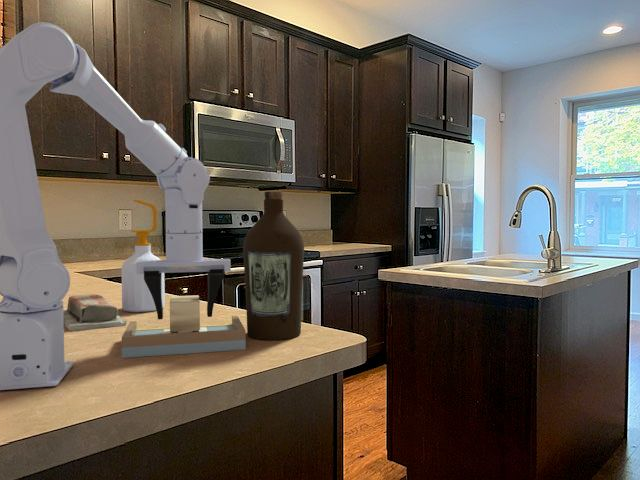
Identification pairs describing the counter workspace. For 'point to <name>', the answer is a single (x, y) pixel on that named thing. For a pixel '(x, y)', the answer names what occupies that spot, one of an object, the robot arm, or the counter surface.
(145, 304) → the soap bottle
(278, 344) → the counter surface
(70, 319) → the packaged product
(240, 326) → the dock
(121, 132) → the robot arm
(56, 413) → the counter surface
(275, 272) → the olive oil
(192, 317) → the beige block with rod
